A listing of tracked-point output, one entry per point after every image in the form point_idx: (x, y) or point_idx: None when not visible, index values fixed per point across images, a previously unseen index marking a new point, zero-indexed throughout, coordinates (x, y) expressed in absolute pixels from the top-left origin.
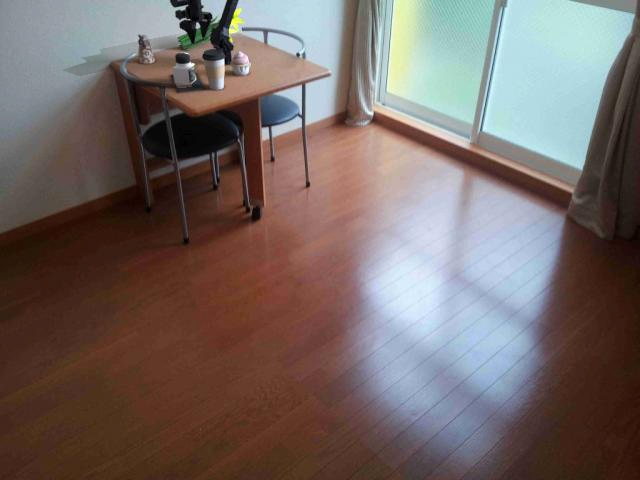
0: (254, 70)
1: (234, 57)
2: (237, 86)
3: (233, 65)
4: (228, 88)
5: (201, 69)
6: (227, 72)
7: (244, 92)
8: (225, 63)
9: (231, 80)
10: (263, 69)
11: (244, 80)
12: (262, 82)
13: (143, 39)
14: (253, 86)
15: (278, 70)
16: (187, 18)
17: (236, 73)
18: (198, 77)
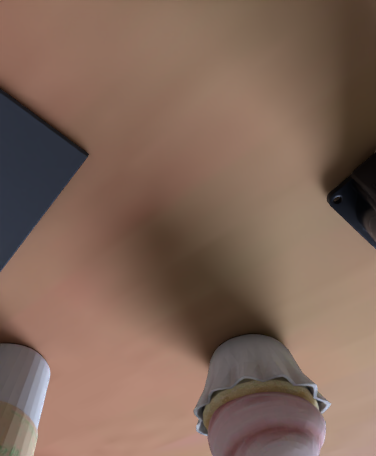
0: (323, 379)
1: (236, 449)
2: (95, 414)
3: (206, 405)
4: (48, 402)
5: (182, 133)
6: (228, 302)
7: (64, 452)
8: (361, 227)
9: (137, 369)
10: (354, 398)
11: (175, 404)
12: (198, 450)
13: None
14: (139, 447)
15: (364, 437)
16: None
17: (208, 370)
18: (25, 233)
